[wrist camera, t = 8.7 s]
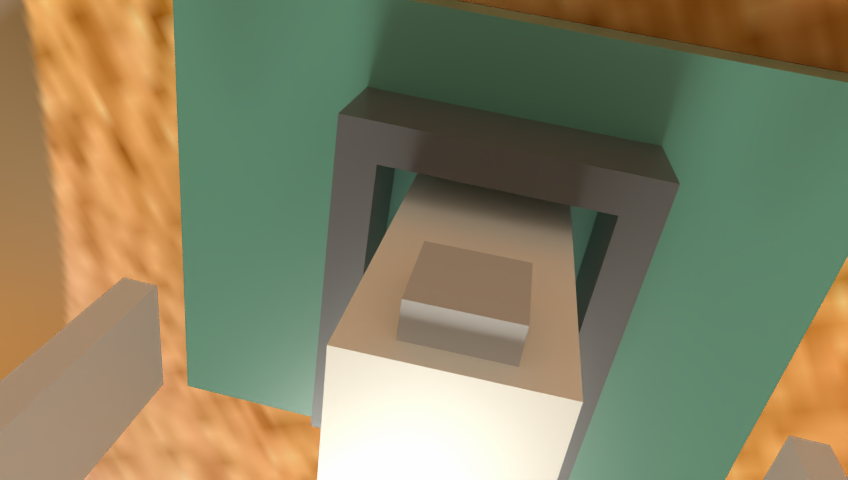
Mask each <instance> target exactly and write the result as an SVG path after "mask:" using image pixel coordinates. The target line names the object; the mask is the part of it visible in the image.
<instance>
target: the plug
mask: <svg viewBox="0 0 848 480" xmlns="http://www.w3.org/2000/svg"><path fill="white" fill-rule="evenodd" d="M582 404H583V393H582V378H581V362H580V347H579V331H578V315H577V300H576V284H575V269H574V253H573V237H572V222H571V206H570V205H565V204H560V203H555V202H551V201H546V200H541V199H537V198H532V197H527V196H522V195H518V194H513V193H508V192H504V191H499V190H494V189H489V188H485V187H480V186H475V185H471V184H466V183H461V182H457V181H452V180H447V179H442V178H438V177H433V176H428V175H424V174H419V173H417V175H416V177H415V179H414V180H413V182H412V184H411V186H410V188H409V190H408V192H407V194H406V196H405V198H404V199H403V201H402V203H401V205H400V207H399V209H398V211H397V213H396V215H395V217H394V218H393V220H392V222H391V224H390V226H389V228H388V230H387V232H386V234H385V236H384V237H383V239H382V241H381V243H380V245H379V247H378V249H377V251H376V253H375V255H374V256H373V258H372V260H371V262H370V264H369V266H368V268H367V270H366V272H365V274H364V275H363V277H362V279H361V281H360V283H359V285H358V287H357V289H356V291H355V293H354V295H353V296H352V298H351V300H350V302H349V304H348V306H347V308H346V310H345V312H344V314H343V315H342V317H341V319H340V321H339V323H338V325H337V327H336V329H335V331H334V333H333V334H332V336H331V338H330V340H329V342H328V344H327V351H326V365H325V379H324V393H323V407H322V421H321V435H320V449H319V463H318V477H317V480H557V479H558V476H559V473H560V470H561V467H562V464H563V461H564V458H565V455H566V452H567V449H568V446H569V443H570V440H571V437H572V434H573V431H574V428H575V425H576V422H577V419H578V416H579V413H580V410H581V407H582Z"/></svg>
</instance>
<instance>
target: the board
mask: <svg viewBox="0 0 848 480" xmlns="http://www.w3.org/2000/svg"><path fill="white" fill-rule="evenodd" d="M173 14H174V39H175V65H176V91H177V117H178V143H179V169H180V195H181V221H182V247H183V273H184V298H185V324H186V350H187V376H188V386H191V387H195V388H199V389H203V390H207V391H211V392H215V393H219V394H223V395H227V396H231V397H235V398H239V399H243V400H247V401H251V402H255V403H259V404H263V405H267V406H271V407H275V408H279V409H283V410H287V411H291V412H295V413H299V414H303V415H307V416H311V426H314V427H318V428H321V421H322V407H323V393H324V379H325V365H326V351H327V344H328V342H329V340H330V338H331V336H332V334H333V333H334V331H335V329H336V327H337V325H338V323H339V321H340V319H341V317H342V315H343V314H344V312H345V310H346V308H347V306H348V304H349V302H350V300H351V298H352V296H353V295H354V293H355V291H356V289H357V287H358V285H359V283H360V281H361V279H362V277H363V275H364V274H365V272H366V270H367V268H368V266H369V264H370V262H371V260H372V258H373V256H374V255H375V253H376V251H377V249H378V247H379V245H380V243H381V241H382V239H383V237H384V236H385V234H386V232H387V230H388V228H389V226H390V224H391V222H392V220H393V218H394V217H395V215H396V213H397V211H398V209H399V207H400V205H401V203H402V201H403V199H404V198H405V196H406V194H407V192H408V190H409V188H410V186H411V184H412V182H413V180H414V179H415V177H416V175H417V173H419V174H424V175H428V176H433V177H438V178H442V179H447V180H452V181H457V182H461V183H466V184H471V185H475V186H480V187H485V188H489V189H494V190H499V191H504V192H508V193H513V194H518V195H522V196H527V197H532V198H537V199H541V200H546V201H551V202H555V203H560V204H565V205H570V206H571V222H572V237H573V253H574V269H575V284H576V300H577V315H578V331H579V347H580V362H581V378H582V393H583V404H582V407H581V410H580V413H579V416H578V419H577V422H576V425H575V428H574V431H573V434H572V437H571V440H570V443H569V446H568V449H567V452H566V455H565V458H564V461H563V464H562V467H561V470H560V473H559V476H558V479H557V480H725V478H726V476H727V475H728V473H729V471H730V469H731V467H732V465H733V464H734V462H735V460H736V458H737V456H738V455H739V453H740V451H741V449H742V447H743V445H744V444H745V442H746V440H747V438H748V436H749V435H750V433H751V431H752V429H753V427H754V425H755V424H756V422H757V420H758V418H759V416H760V415H761V413H762V411H763V409H764V407H765V406H766V404H767V402H768V400H769V398H770V396H771V395H772V393H773V391H774V389H775V387H776V386H777V384H778V382H779V380H780V378H781V376H782V375H783V373H784V371H785V369H786V367H787V366H788V364H789V362H790V360H791V358H792V356H793V355H794V353H795V351H796V349H797V347H798V346H799V344H800V342H801V340H802V338H803V336H804V335H805V333H806V331H807V329H808V327H809V326H810V324H811V322H812V320H813V318H814V316H815V315H816V313H817V311H818V309H819V307H820V306H821V304H822V302H823V300H824V298H825V296H826V295H827V293H828V291H829V289H830V287H831V286H832V284H833V282H834V280H835V278H836V277H837V275H838V273H839V271H840V269H841V267H842V266H843V264H844V262H845V260H846V258H847V257H848V73H844V72H839V71H833V70H828V69H823V68H817V67H812V66H807V65H801V64H796V63H791V62H785V61H780V60H774V59H769V58H764V57H758V56H753V55H748V54H742V53H737V52H732V51H726V50H721V49H716V48H710V47H705V46H700V45H694V44H689V43H683V42H678V41H673V40H667V39H662V38H657V37H651V36H646V35H641V34H635V33H630V32H625V31H619V30H614V29H608V28H603V27H598V26H592V25H587V24H582V23H576V22H571V21H566V20H560V19H555V18H550V17H544V16H539V15H533V14H528V13H523V12H517V11H512V10H507V9H501V8H496V7H491V6H485V5H480V4H475V3H469V2H464V1H458V0H173Z"/></svg>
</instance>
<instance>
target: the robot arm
mask: <svg viewBox="0 0 848 480" xmlns="http://www.w3.org/2000/svg"><path fill="white" fill-rule="evenodd" d="M162 385H163V372H162V356H161V340H160V325H159V309H158V293H157V285H153V284H149V283H145V282H140V281H136V280H132V279H128V278H122V279H121V280H120V281H119V282H118V283H116V284H115V285H114V286H113V287H112V288H110V289H109V290H108V291H107V292H106V293H104V294H103V295H102V296H101V297H100V298H98V299H97V300H96V301H95V302H94V303H93V304H91V305H90V306H89V307H88V308H87V309H85V310H84V311H83V312H82V313H81V314H79V315H78V316H77V317H76V318H75V319H74V320H72V321H71V322H70V323H69V324H68V325H66V326H65V327H64V328H63V329H62V330H60V331H59V332H58V333H57V334H56V335H55V336H54V337H52V338H51V339H50V340H49V341H47V342H46V343H45V344H44V345H43V346H41V347H40V348H39V349H38V350H37V351H35V352H34V353H33V354H32V355H31V356H30V357H28V358H27V359H26V360H25V361H24V362H22V363H21V364H20V365H19V366H18V367H17V368H15V369H14V370H13V371H12V372H11V373H9V374H8V375H7V376H6V377H5V378H3V379H2V380H1V381H0V480H84V478H85V477H86V476H87V475H88V474H89V472H90V471H91V470H92V469H93V468H94V466H95V465H96V464H97V463H98V462H99V460H100V459H101V458H102V457H103V456H104V454H105V453H106V452H107V451H108V450H109V448H110V447H111V446H112V445H113V444H114V442H115V441H116V440H117V439H118V438H119V436H120V435H121V434H122V433H123V432H124V430H125V429H126V428H127V427H128V426H129V424H130V423H131V422H132V421H133V420H134V418H135V417H136V416H137V415H138V414H139V412H140V411H141V410H142V409H143V408H144V406H145V405H146V404H147V403H148V402H149V400H150V399H151V398H152V397H153V396H154V394H155V393H156V392H157V391H158V390H159V388H160V387H161V386H162ZM763 480H848V479H847V477H846V475H845V473H844V471H843V469H842V467H841V465H840V463H839V461H838V460H837V458H836V456H835V454H834V452H833V450H832V448H831V446H830V445H827V444H823V443H819V442H815V441H810V440H806V439H802V438H798V437H793V436H789V437H788V439H787V440H786V442H785V444H784V445H783V447H782V449H781V450H780V452H779V454H778V456H777V457H776V459H775V461H774V462H773V464H772V466H771V467H770V469H769V471H768V472H767V474H766V476H765V477H764V479H763Z"/></svg>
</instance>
